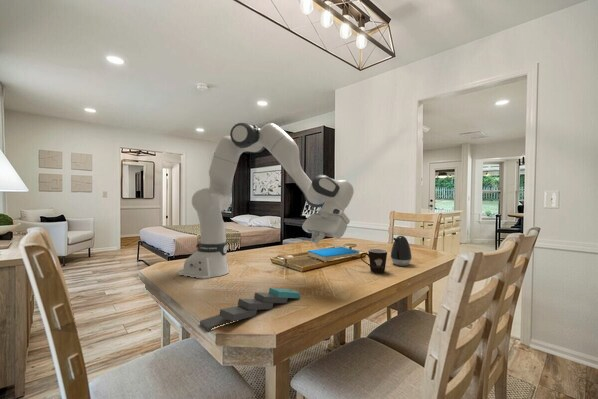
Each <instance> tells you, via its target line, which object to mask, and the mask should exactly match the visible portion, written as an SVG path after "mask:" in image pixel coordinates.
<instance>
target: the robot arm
mask: <svg viewBox="0 0 598 399" xmlns="http://www.w3.org/2000/svg"><path fill="white" fill-rule="evenodd" d="M265 149H266V150H267V151H268V152H269V153H270V154H271V155H272V156H273V157H274V158H275V159H276V161H277V162H278V163H279V164H280V165H281V166H282V168H283V169H284V170H285V171H286V173H287V174H288V176H289V177H290V179H292V181H293V182H294V183H295V185H296V186H297V187H298V188H299V190H300V191H301V192H302V193H303V196H304V199H305V201H306V203H307V204H308V206H310V207H312V208H315V209H317V208H320V210H319V211H318V212H313V213H312V214H309V216H308V217H307V218H306V219H305V220H304V222H303V223H302V225H301V228H302V230H303V231H304V232H306V233H308V234H311V238H310V243H311V244H315V245H318V244H319V243H320V241H322V240H323V239H324V238H325V237H330V238H334V239H340V238H342V237H343V236H344V234H345V232H346V231H347V228H348V225H349V224H350V221H351V220H350V219H349V217H348V216H347V215H346V213H345V210H346V208H347V207H349V205H350V203H351V201H352V198H353V196H354V193H355V192H354V191H355V189H354V187H353V185H352V184H351V183H350V182H349V181H347V180H345V179H334V178H332V177H329V176H328V175H325V174H319V175H316V176H314V178H312V180H311V178H309V176H308V175H307V174H306V172H305V171H304V170H303V167H302V165H301V161H300V148H299V145H297V143H296V141H295V140H294V139H293V138H292V137H291V136H290V135H289V134H288V133H287V132H286V131H285V130H284V129H283V128H282V127H280V126H279V125H277V124H276V123H273V122H270V123H266V124H264V125H263V126H262V127H261V128H259V127H258V126H257V125H255V124H250V123H247V122H238V123H236V124H234V125H233V126H232V128H231V129H230V135H224V136H222V137H221V138H220V140H219V142H218V143H217V146H216V148H215V151H214V153H213V156H212V158H211V159H212V160H211V163H210V167H209V169H208V176H209V188H207V187H206V188H205V187H204V188H201V189H198V190H197V191H195V192H194V193H193V195H192V197H191V205H192V207H193V208H194V210H195V211H196V213H197V217H198V220H199V226H200V242H199V243H197V244H195V245H194V246H195V247H194V248H197V249H196V251H194V253H192V254H191V255H189V257H187V258H186V259H185V261H184V263H183V267H182V269H180V270H178V272H177V275H178V274H179V275H178V276H180V275H184V276H183V277H187V276H190V277H189V278H194V277H196V279H203V280H204V279H209V278H215V277H221V276H224V275H227V274H229V272H230V269H229V264H228V259H227V258H228V257H227V251H228V243H227V239H226V238H227V234H226V233H227V231H226V229H227V227H226V226H227V225H226V223H225V221H224V219H223V215H222V214H223V213H222V212H224V211H226V210H227V209H228V208H229V207H230V206H231V205H232V203H233V198H232V189H233V188H232V187H233V182H234V181H233V180H234V176H235V173H236V170H237V166H238V163H239V160H240V157H241V155H242V154H243V153H245V154H258V153H261V152H263V151H264V150H265Z"/></svg>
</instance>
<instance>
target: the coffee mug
mask: <svg viewBox="0 0 598 399" xmlns="http://www.w3.org/2000/svg"><path fill="white" fill-rule="evenodd" d="M363 255H366V256H367V257H368V259H369V263H368V262H367V261H365V260H364V259H363V258H362V256H363ZM387 256H388V250H386V249H381V248H370V249H368V253H367V252H362V253H361V254H360V255H359V257H360V259H361V261H362V262H363V263H364V264H366V265H368V266H369V268H370V272H371V273H373V274H376V275H377V274H378V275H379V274H385V273H386V266H387Z"/></svg>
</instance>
